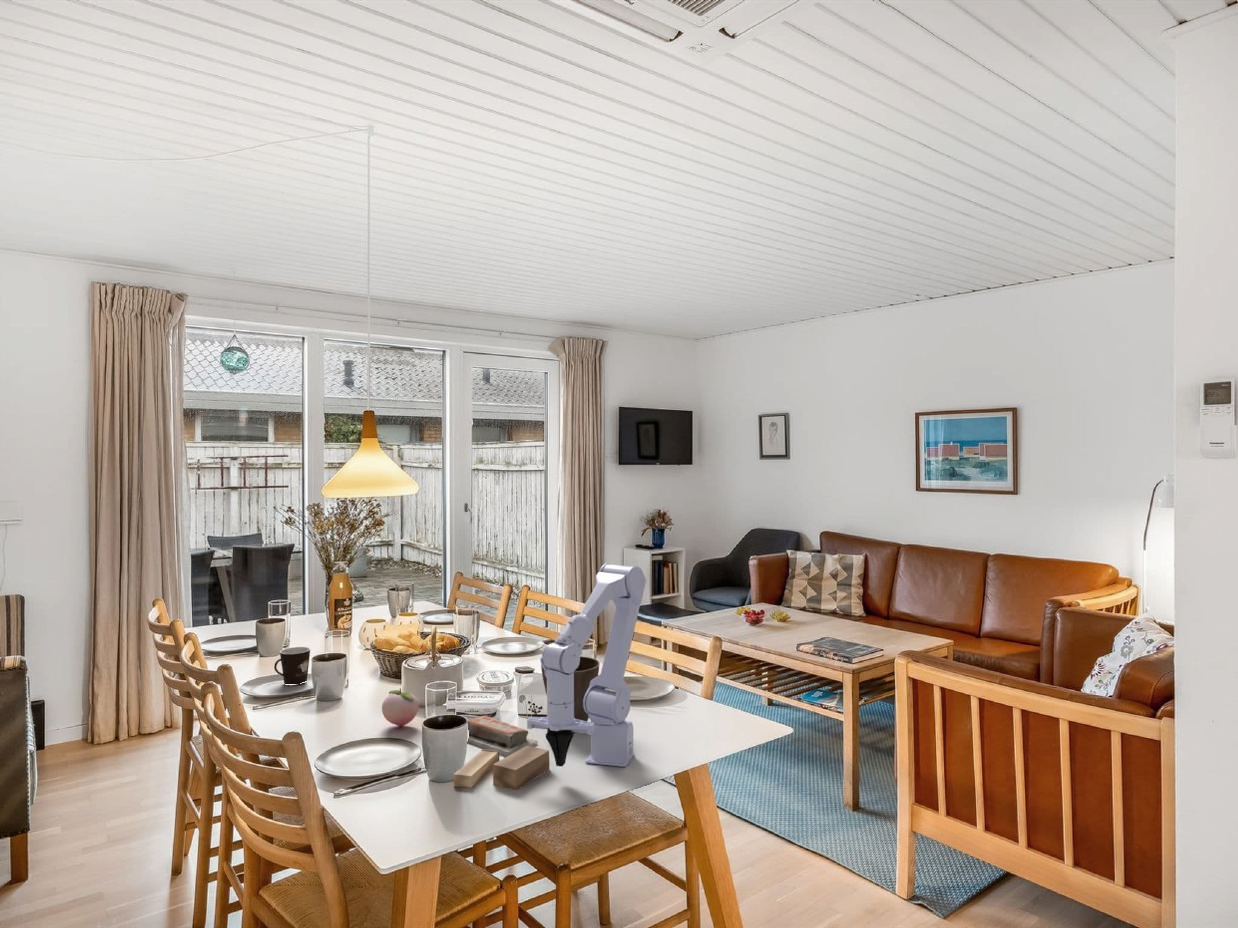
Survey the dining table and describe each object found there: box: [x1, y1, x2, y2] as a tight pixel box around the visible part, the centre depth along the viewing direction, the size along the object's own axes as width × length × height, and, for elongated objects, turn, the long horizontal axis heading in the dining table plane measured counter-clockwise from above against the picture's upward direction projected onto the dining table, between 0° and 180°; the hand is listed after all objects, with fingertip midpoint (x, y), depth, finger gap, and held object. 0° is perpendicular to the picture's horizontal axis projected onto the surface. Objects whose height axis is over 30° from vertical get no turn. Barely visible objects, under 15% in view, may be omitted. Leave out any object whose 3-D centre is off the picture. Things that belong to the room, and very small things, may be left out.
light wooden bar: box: [453, 748, 500, 789], centre depth 168 cm, size 4×14×3 cm, turn 164°
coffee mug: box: [273, 646, 311, 684], centre depth 235 cm, size 12×9×10 cm
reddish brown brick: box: [466, 715, 539, 757], centre depth 187 cm, size 18×5×10 cm
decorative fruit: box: [381, 687, 420, 728], centre depth 197 cm, size 9×8×10 cm
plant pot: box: [540, 656, 601, 722], centre depth 197 cm, size 15×15×16 cm
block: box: [492, 746, 550, 791], centre depth 166 cm, size 6×12×4 cm, turn 150°
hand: (560, 764), depth 164 cm, fingers closed
